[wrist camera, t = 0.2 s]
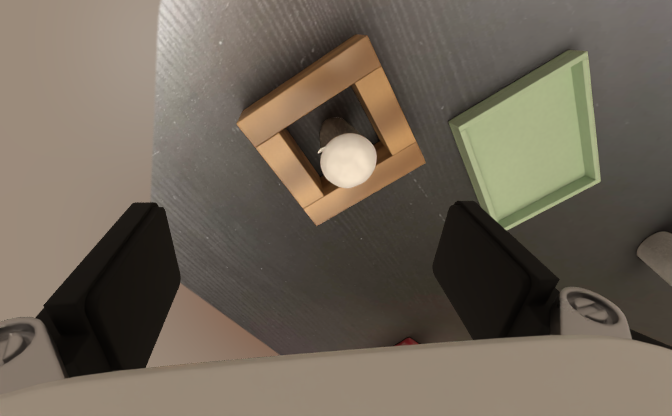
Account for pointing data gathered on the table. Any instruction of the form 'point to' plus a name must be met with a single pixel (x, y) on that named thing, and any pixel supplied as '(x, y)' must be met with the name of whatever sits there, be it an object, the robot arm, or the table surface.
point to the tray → (532, 141)
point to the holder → (310, 92)
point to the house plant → (658, 254)
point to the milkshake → (345, 154)
